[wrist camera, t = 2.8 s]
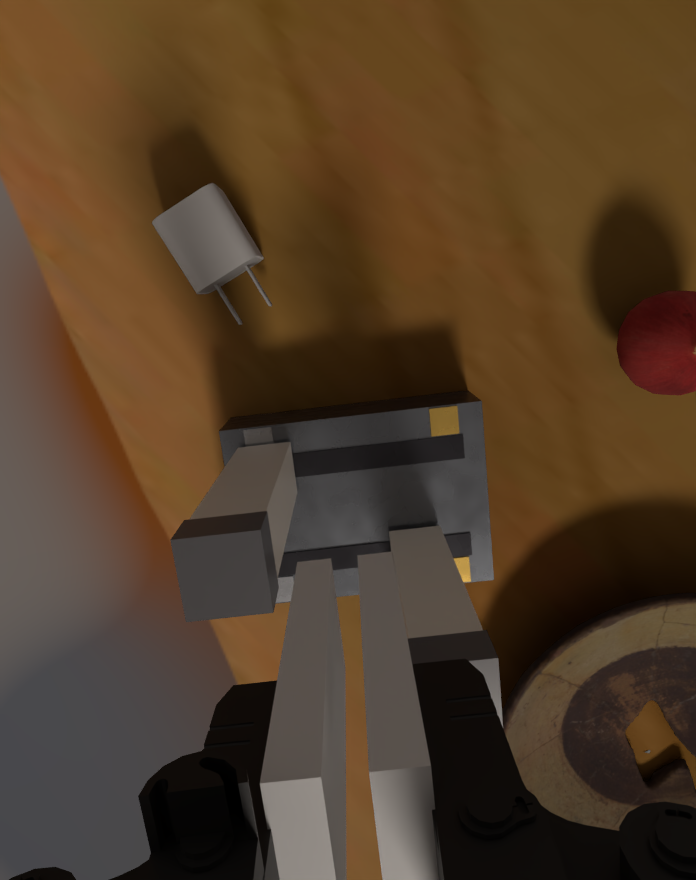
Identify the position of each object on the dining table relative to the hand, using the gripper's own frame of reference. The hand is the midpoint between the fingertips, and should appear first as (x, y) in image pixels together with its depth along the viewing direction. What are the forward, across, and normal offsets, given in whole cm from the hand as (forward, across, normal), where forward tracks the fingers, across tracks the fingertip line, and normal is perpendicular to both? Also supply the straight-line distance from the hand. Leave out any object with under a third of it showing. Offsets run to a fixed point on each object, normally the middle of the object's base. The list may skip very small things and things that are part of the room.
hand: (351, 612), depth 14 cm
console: (+26, 0, -5) cm, 27 cm away
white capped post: (+22, +3, -8) cm, 24 cm away
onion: (+27, +19, +2) cm, 33 cm away
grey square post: (+22, -5, -2) cm, 23 cm away
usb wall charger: (+27, -6, +9) cm, 29 cm away
